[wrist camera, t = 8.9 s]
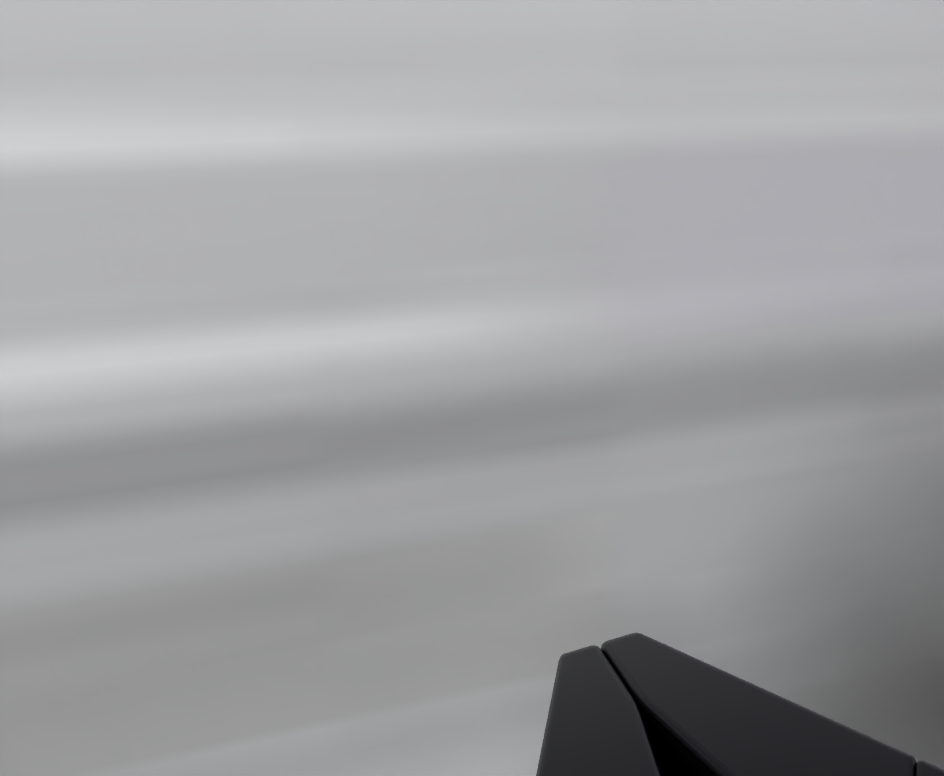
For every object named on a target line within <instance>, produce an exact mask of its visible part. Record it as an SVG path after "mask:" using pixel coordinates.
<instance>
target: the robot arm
mask: <svg viewBox="0 0 944 776" xmlns="http://www.w3.org/2000/svg"><path fill="white" fill-rule="evenodd" d="M536 776H944V770H942V769H940V768H938V767H936V766H934V765H931V764H929V763H927V762H925V761H918V762H917V763H916V761H915V759H914V757H912V756H911V755H908V754H906V753H904V752H902V751H900V750H897V749H895V748H893V747H891V746H889V745H886V744H884V743H882V742H880V741H877V740H875V739H873V738H871V737H869V736H866V735H864V734H862V733H860V732H858V731H855V730H853V729H851V728H849V727H846V726H844V725H842V724H840V723H838V722H835V721H833V720H831V719H829V718H827V717H824V716H822V715H820V714H818V713H816V712H813V711H811V710H809V709H807V708H804V707H802V706H800V705H798V704H796V703H793V702H791V701H789V700H787V699H785V698H782V697H780V696H778V695H776V694H773V693H771V692H769V691H767V690H765V689H762V688H760V687H758V686H756V685H754V684H751V683H749V682H747V681H745V680H742V679H740V678H738V677H736V676H734V675H731V674H729V673H727V672H725V671H723V670H720V669H718V668H716V667H714V666H712V665H709V664H707V663H705V662H703V661H700V660H698V659H696V658H694V657H692V656H689V655H687V654H685V653H683V652H681V651H678V650H676V649H674V648H672V647H669V646H667V645H665V644H663V643H661V642H658V641H656V640H654V639H652V638H650V637H647V636H645V635H643V634H640V633H632V634H629V635H625V636H622V637H619V638H615V639H612V640H609V641H606V642H604V643H603V644H602V646H601V649H600V648H599V647H598V646H589V647H585V648H582V649H579V650H575V651H572V652H569V653H565V654H563V655H562V656H561V657H560V659H559V662H558V668H557V673H556V678H555V683H554V688H553V693H552V698H551V703H550V708H549V713H548V718H547V724H546V729H545V734H544V739H543V744H542V749H541V754H540V759H539V764H538V769H537V774H536Z"/></svg>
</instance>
